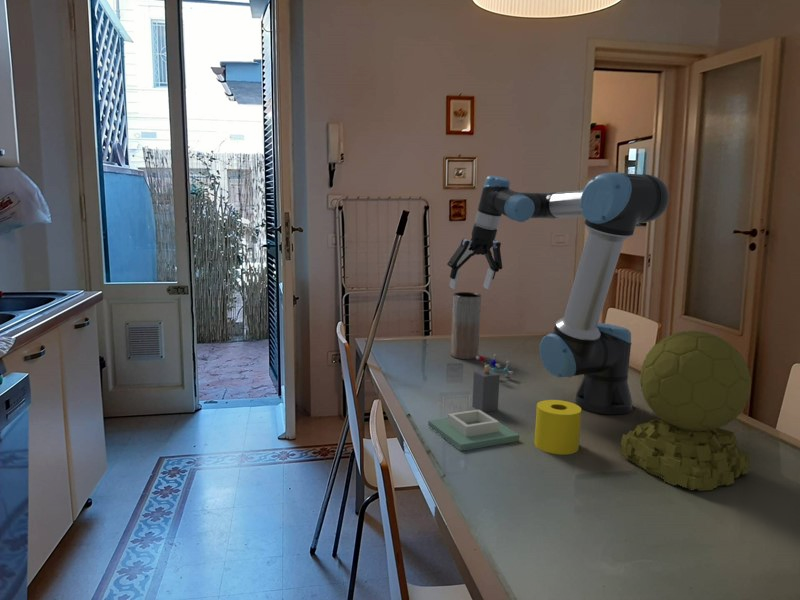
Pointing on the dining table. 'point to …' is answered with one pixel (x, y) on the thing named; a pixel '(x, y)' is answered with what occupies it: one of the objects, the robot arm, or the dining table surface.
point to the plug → (485, 390)
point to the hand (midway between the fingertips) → (469, 288)
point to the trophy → (691, 412)
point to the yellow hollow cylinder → (557, 427)
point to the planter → (465, 325)
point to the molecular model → (496, 365)
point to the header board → (472, 430)
